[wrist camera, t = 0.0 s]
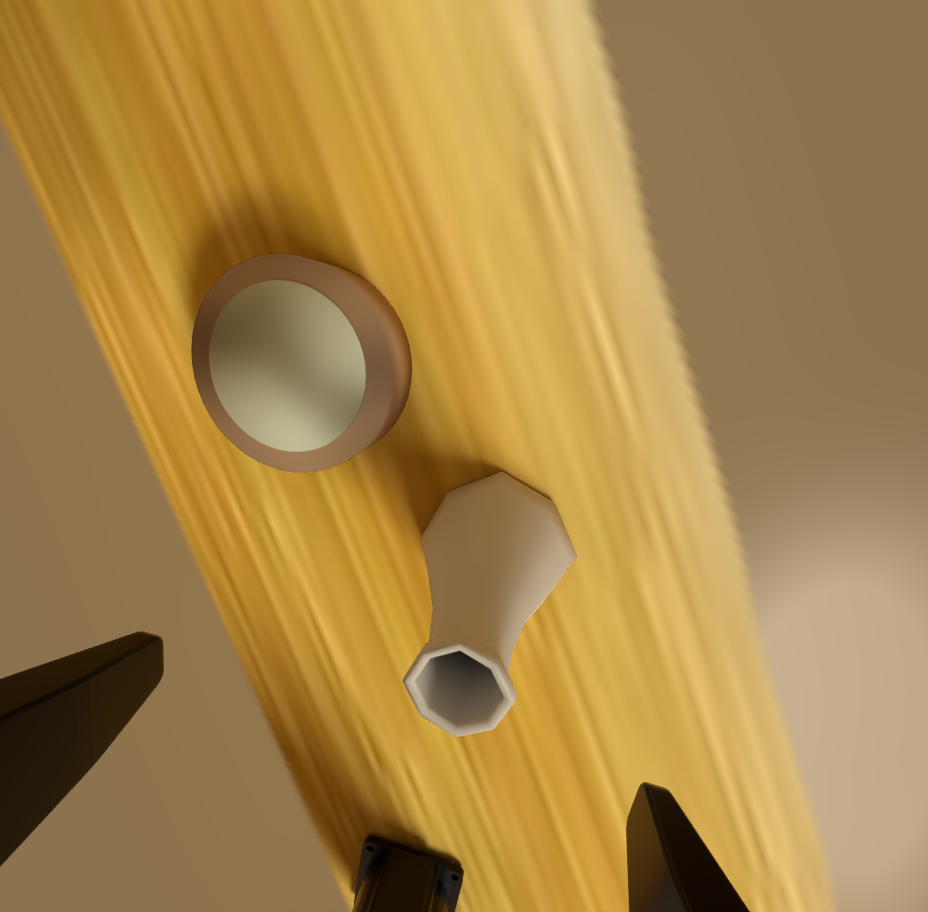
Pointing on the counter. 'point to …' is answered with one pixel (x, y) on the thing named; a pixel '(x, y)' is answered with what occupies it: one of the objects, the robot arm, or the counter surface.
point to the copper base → (300, 361)
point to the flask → (483, 597)
